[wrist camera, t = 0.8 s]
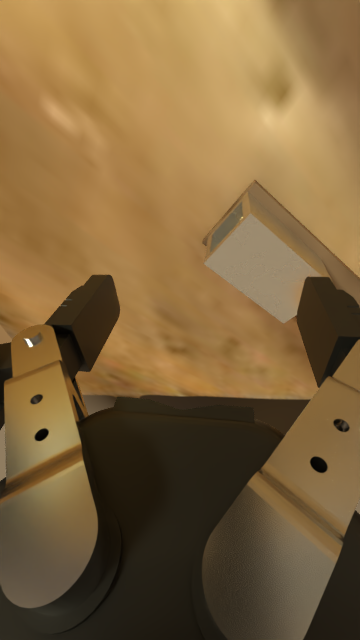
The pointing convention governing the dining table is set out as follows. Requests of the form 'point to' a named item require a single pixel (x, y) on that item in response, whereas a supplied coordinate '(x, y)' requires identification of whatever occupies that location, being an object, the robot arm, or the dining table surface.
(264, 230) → the grey block
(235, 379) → the dining table surface
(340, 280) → the base board
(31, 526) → the robot arm
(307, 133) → the dining table surface
